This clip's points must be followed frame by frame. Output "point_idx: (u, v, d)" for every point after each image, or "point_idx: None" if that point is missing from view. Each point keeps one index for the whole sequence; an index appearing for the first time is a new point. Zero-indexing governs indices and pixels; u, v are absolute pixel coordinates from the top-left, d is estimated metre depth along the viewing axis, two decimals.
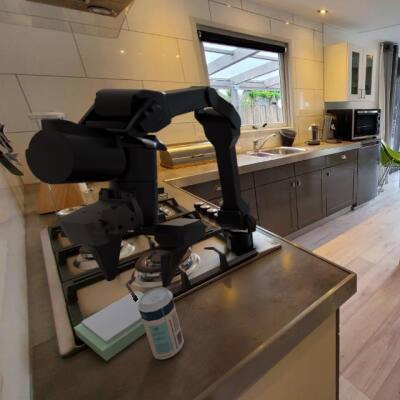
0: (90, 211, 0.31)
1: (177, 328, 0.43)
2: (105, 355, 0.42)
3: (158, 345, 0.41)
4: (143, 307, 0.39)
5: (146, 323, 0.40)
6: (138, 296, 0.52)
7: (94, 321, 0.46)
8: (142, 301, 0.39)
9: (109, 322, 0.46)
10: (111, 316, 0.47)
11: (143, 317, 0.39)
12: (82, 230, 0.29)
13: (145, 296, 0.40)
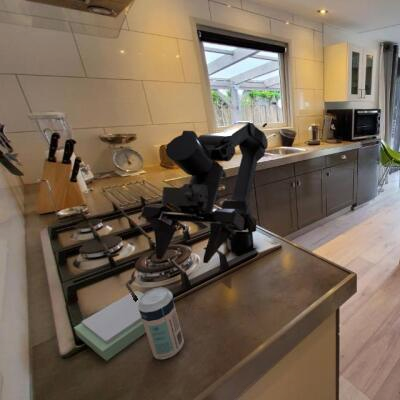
0: None
1: (177, 328, 0.43)
2: (105, 355, 0.42)
3: (158, 345, 0.41)
4: (143, 307, 0.39)
5: (146, 323, 0.40)
6: (138, 296, 0.52)
7: (94, 321, 0.46)
8: (142, 301, 0.39)
9: (109, 322, 0.46)
10: (111, 316, 0.47)
11: (143, 317, 0.39)
12: (177, 193, 0.43)
13: (145, 296, 0.40)
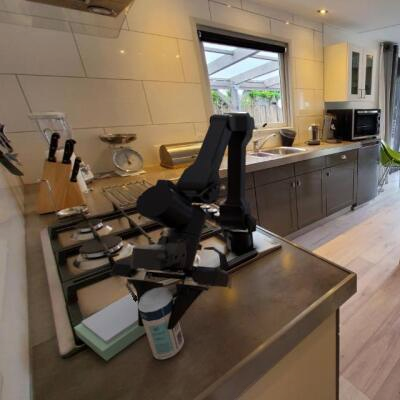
0: (154, 246, 0.40)
1: (177, 328, 0.43)
2: (105, 355, 0.42)
3: (158, 345, 0.41)
4: (143, 307, 0.39)
5: (146, 323, 0.40)
6: None
7: (94, 321, 0.46)
8: (142, 301, 0.39)
9: (109, 322, 0.46)
10: (111, 316, 0.47)
11: (143, 317, 0.39)
12: (148, 255, 0.38)
13: (145, 296, 0.40)
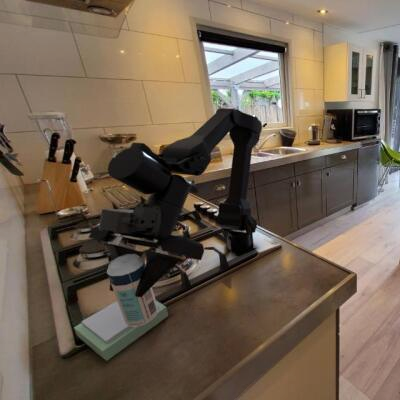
0: (126, 210, 0.39)
1: (149, 297, 0.42)
2: (105, 355, 0.42)
3: (127, 312, 0.41)
4: (110, 270, 0.38)
5: (114, 288, 0.39)
6: None
7: (94, 321, 0.46)
8: (111, 265, 0.39)
9: (109, 322, 0.46)
10: (111, 316, 0.47)
11: (111, 281, 0.39)
12: (114, 217, 0.37)
13: (116, 261, 0.40)
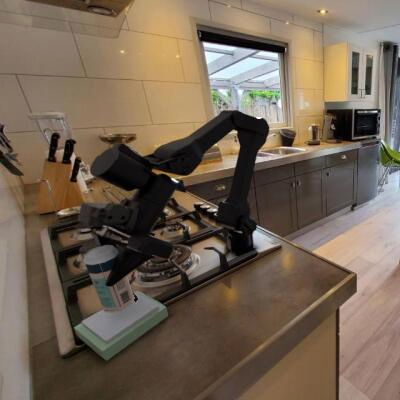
0: (104, 205, 0.43)
1: (121, 287, 0.45)
2: (105, 355, 0.42)
3: (101, 298, 0.44)
4: (85, 259, 0.42)
5: None
6: (138, 296, 0.52)
7: (94, 321, 0.46)
8: (88, 253, 0.42)
9: (109, 322, 0.46)
10: (111, 316, 0.47)
11: (87, 268, 0.42)
12: (88, 211, 0.40)
13: (94, 250, 0.43)
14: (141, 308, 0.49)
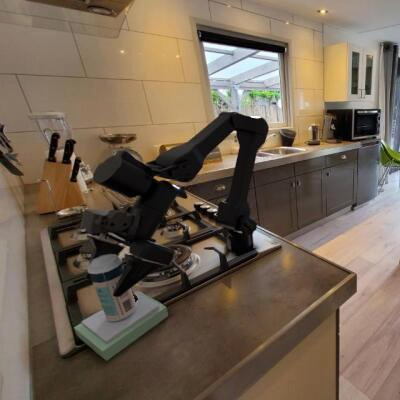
0: (107, 212, 0.43)
1: (124, 296, 0.46)
2: (105, 355, 0.42)
3: (104, 306, 0.45)
4: (89, 268, 0.42)
5: (93, 283, 0.43)
6: (138, 296, 0.52)
7: (94, 321, 0.46)
8: (92, 263, 0.43)
9: (109, 322, 0.46)
10: None
11: None
12: (90, 218, 0.40)
13: (98, 259, 0.44)
14: (141, 308, 0.49)
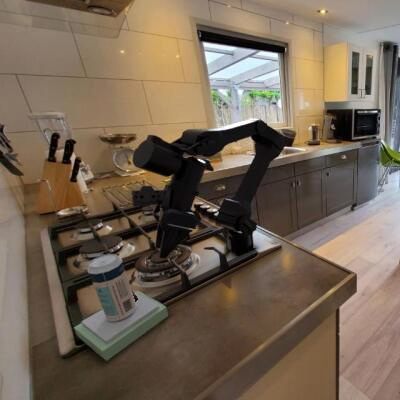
0: None
1: (124, 296, 0.46)
2: (105, 355, 0.42)
3: (104, 306, 0.45)
4: (89, 268, 0.42)
5: (93, 283, 0.43)
6: (138, 296, 0.52)
7: (94, 321, 0.46)
8: (92, 263, 0.43)
9: (109, 322, 0.46)
10: None
11: None
12: None
13: (98, 259, 0.44)
14: (141, 308, 0.49)
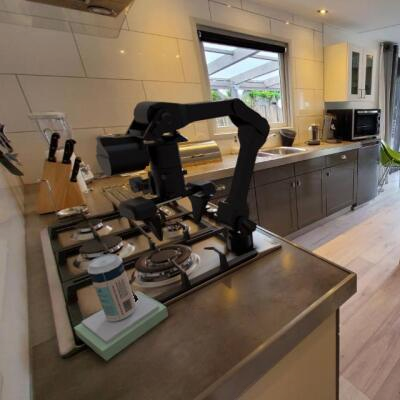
0: None
1: (124, 296, 0.46)
2: (105, 355, 0.42)
3: (104, 306, 0.45)
4: (89, 268, 0.42)
5: (93, 283, 0.43)
6: (138, 296, 0.52)
7: (94, 321, 0.46)
8: (92, 263, 0.43)
9: (109, 322, 0.46)
10: None
11: None
12: None
13: (98, 259, 0.44)
14: (141, 308, 0.49)
